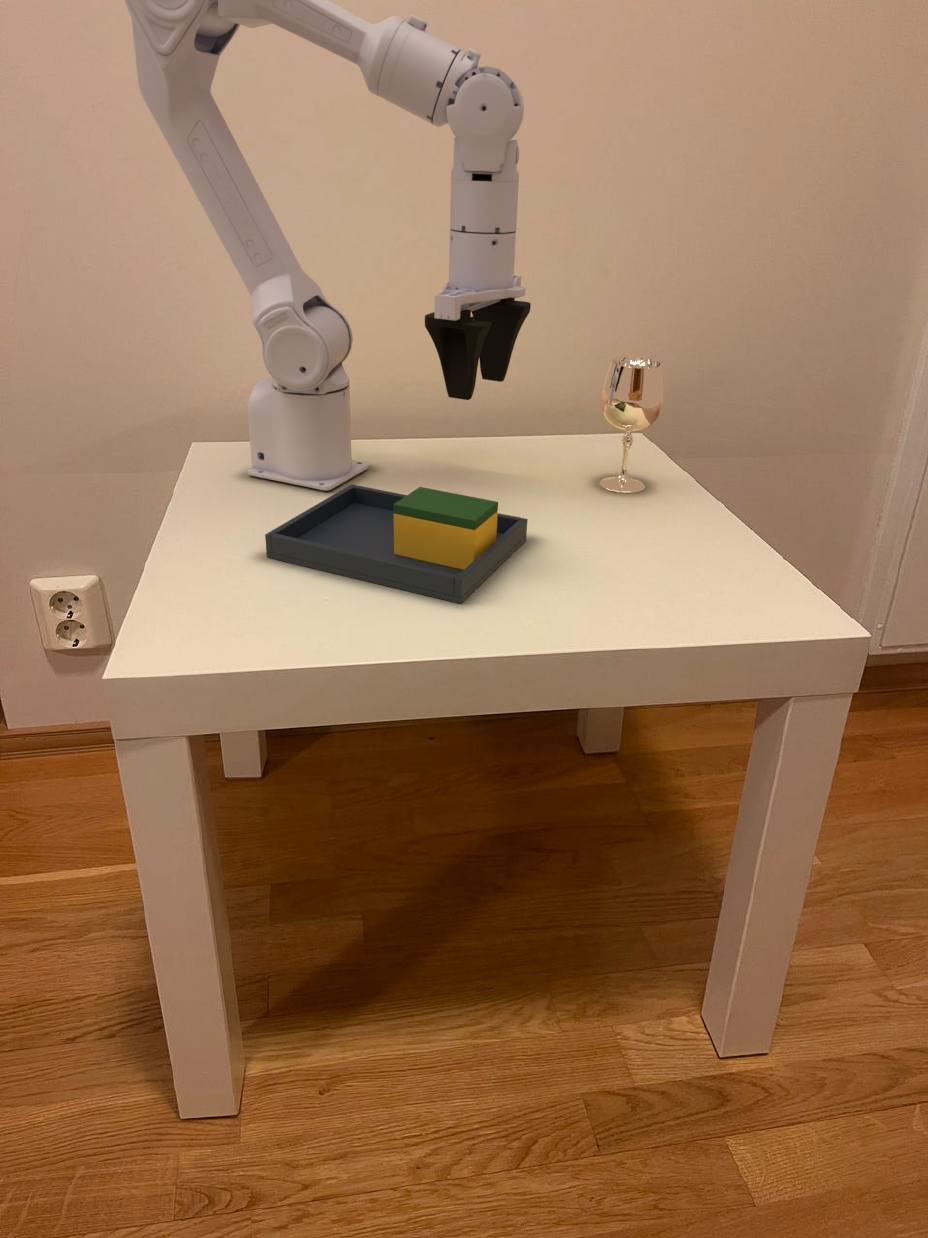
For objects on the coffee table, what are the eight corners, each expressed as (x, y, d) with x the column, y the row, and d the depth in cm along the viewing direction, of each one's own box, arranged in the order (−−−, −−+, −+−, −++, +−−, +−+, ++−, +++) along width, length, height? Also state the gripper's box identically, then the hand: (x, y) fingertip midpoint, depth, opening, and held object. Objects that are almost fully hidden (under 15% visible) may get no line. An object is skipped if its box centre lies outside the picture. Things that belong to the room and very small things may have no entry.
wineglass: (655, 480, 92) (672, 359, 86) (646, 498, 87) (663, 372, 81) (599, 472, 93) (611, 353, 87) (587, 490, 88) (599, 365, 83)
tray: (266, 557, 73) (264, 534, 72) (351, 504, 83) (351, 483, 82) (461, 604, 67) (461, 579, 66) (526, 540, 77) (527, 518, 76)
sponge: (393, 554, 73) (393, 503, 71) (419, 534, 76) (419, 486, 74) (473, 572, 70) (475, 520, 68) (495, 551, 74) (498, 501, 72)
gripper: (492, 241, 71) (485, 413, 77) (555, 227, 82) (544, 377, 89) (412, 234, 73) (411, 401, 80) (484, 222, 85) (478, 368, 91)
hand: (477, 388), depth 84 cm, fingers open, 7 cm apart
